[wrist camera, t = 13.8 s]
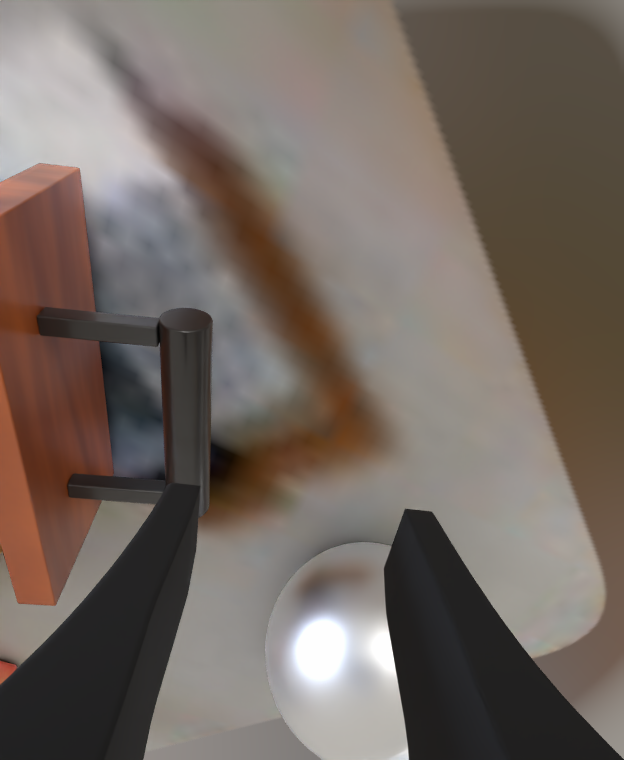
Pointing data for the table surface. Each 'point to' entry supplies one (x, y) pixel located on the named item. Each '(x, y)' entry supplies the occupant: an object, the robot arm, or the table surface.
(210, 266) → the table surface
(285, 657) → the silver metal pot
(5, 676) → the cracker box
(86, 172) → the table surface
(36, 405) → the drawer
